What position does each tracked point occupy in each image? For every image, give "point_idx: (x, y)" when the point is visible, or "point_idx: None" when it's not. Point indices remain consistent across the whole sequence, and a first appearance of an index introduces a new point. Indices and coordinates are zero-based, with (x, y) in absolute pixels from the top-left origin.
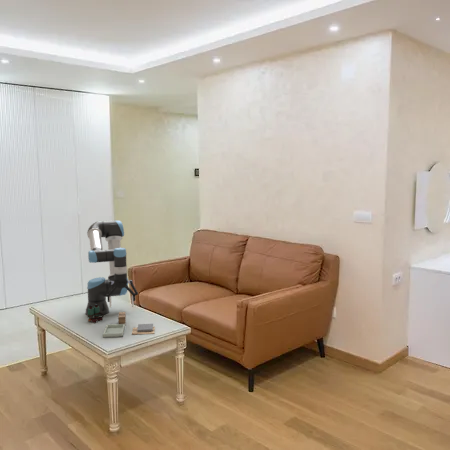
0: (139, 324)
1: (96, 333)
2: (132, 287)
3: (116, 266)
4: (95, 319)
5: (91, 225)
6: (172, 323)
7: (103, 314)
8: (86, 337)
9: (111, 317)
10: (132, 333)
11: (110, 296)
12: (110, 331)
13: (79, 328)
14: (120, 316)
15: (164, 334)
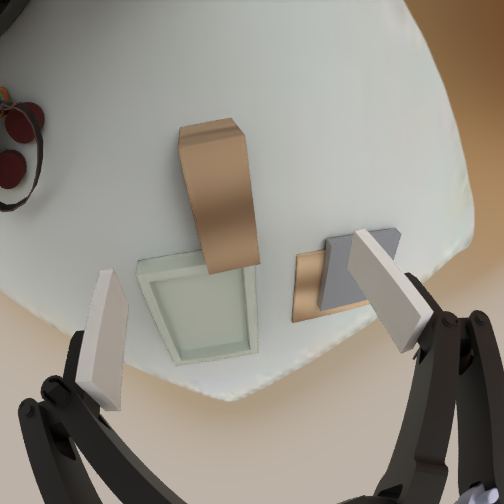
0: (337, 248)
1: None
2: (463, 441)
3: None
4: (9, 160)
5: None
6: (462, 191)
7: (31, 123)
8: None
9: (92, 43)
10: (296, 317)
11: (95, 392)
12: (185, 313)
13: (7, 269)
14: (221, 256)
15: None
